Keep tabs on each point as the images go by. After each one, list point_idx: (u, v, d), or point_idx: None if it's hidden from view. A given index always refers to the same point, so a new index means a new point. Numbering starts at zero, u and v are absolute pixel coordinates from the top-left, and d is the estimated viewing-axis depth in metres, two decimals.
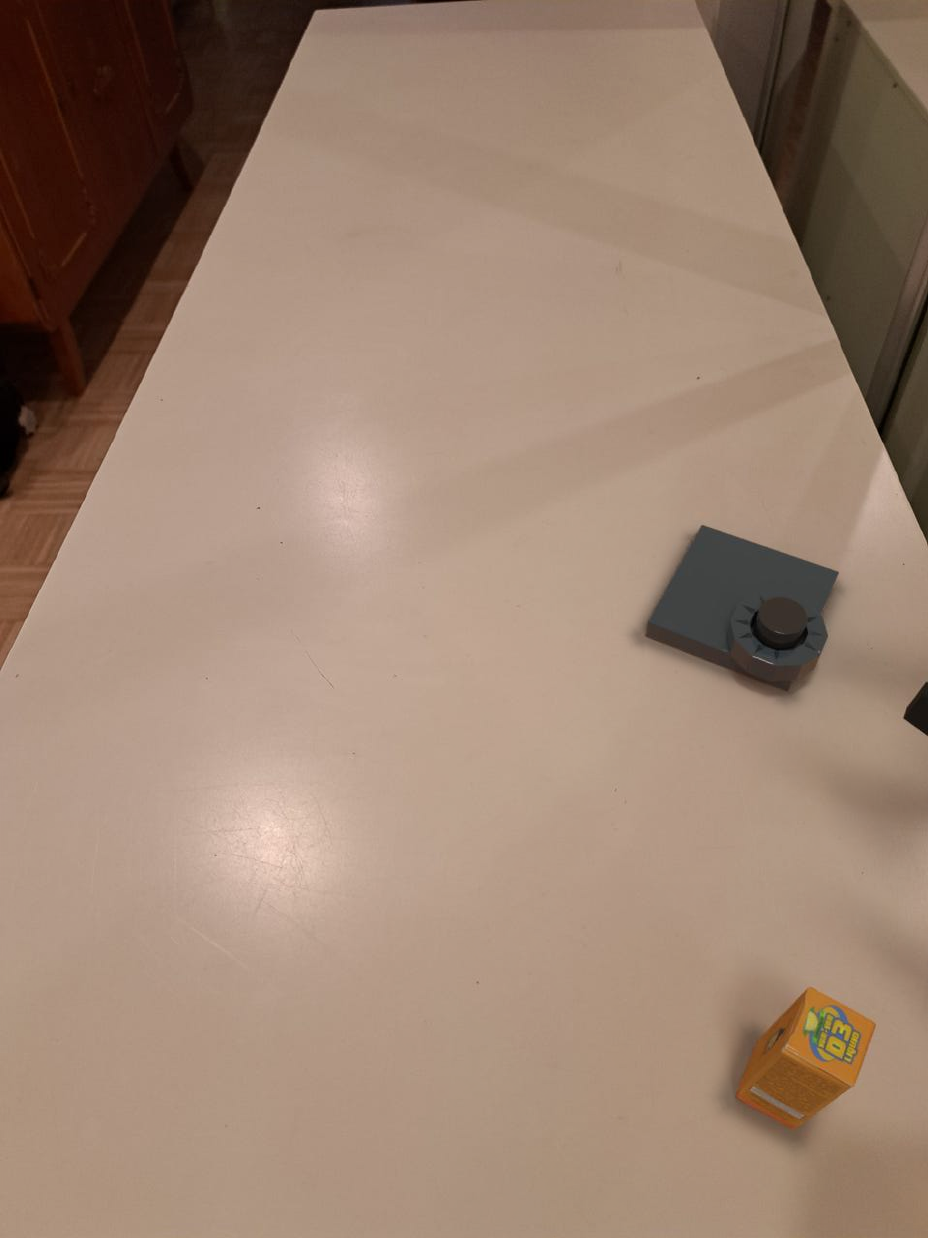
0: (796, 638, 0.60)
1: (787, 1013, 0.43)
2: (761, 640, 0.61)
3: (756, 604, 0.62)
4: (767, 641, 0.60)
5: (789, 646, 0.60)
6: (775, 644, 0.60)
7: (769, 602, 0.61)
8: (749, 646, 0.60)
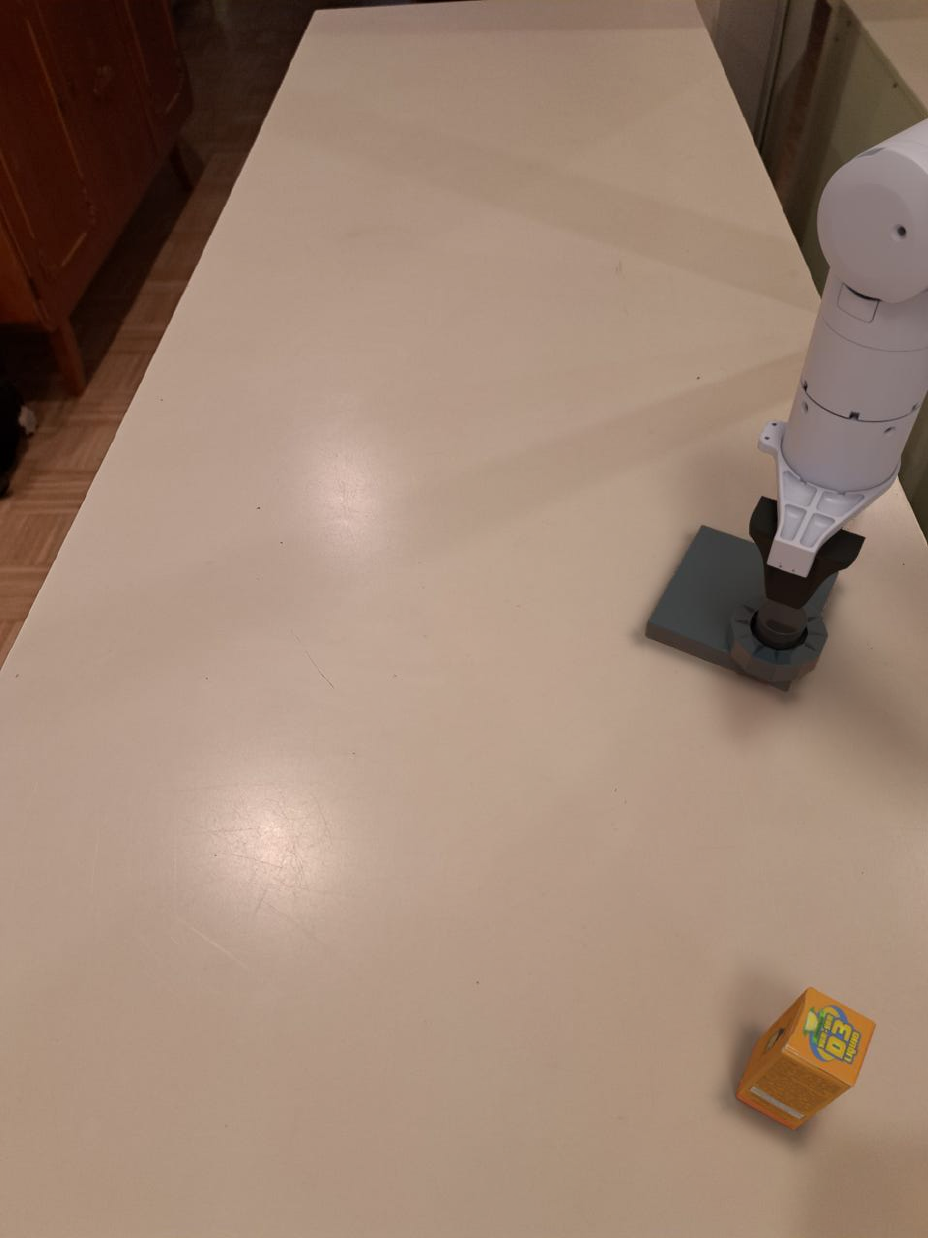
0: (796, 638, 0.60)
1: (787, 1013, 0.43)
2: (761, 640, 0.61)
3: (756, 604, 0.62)
4: (767, 641, 0.60)
5: (789, 646, 0.60)
6: (775, 644, 0.60)
7: (769, 602, 0.61)
8: (749, 646, 0.60)
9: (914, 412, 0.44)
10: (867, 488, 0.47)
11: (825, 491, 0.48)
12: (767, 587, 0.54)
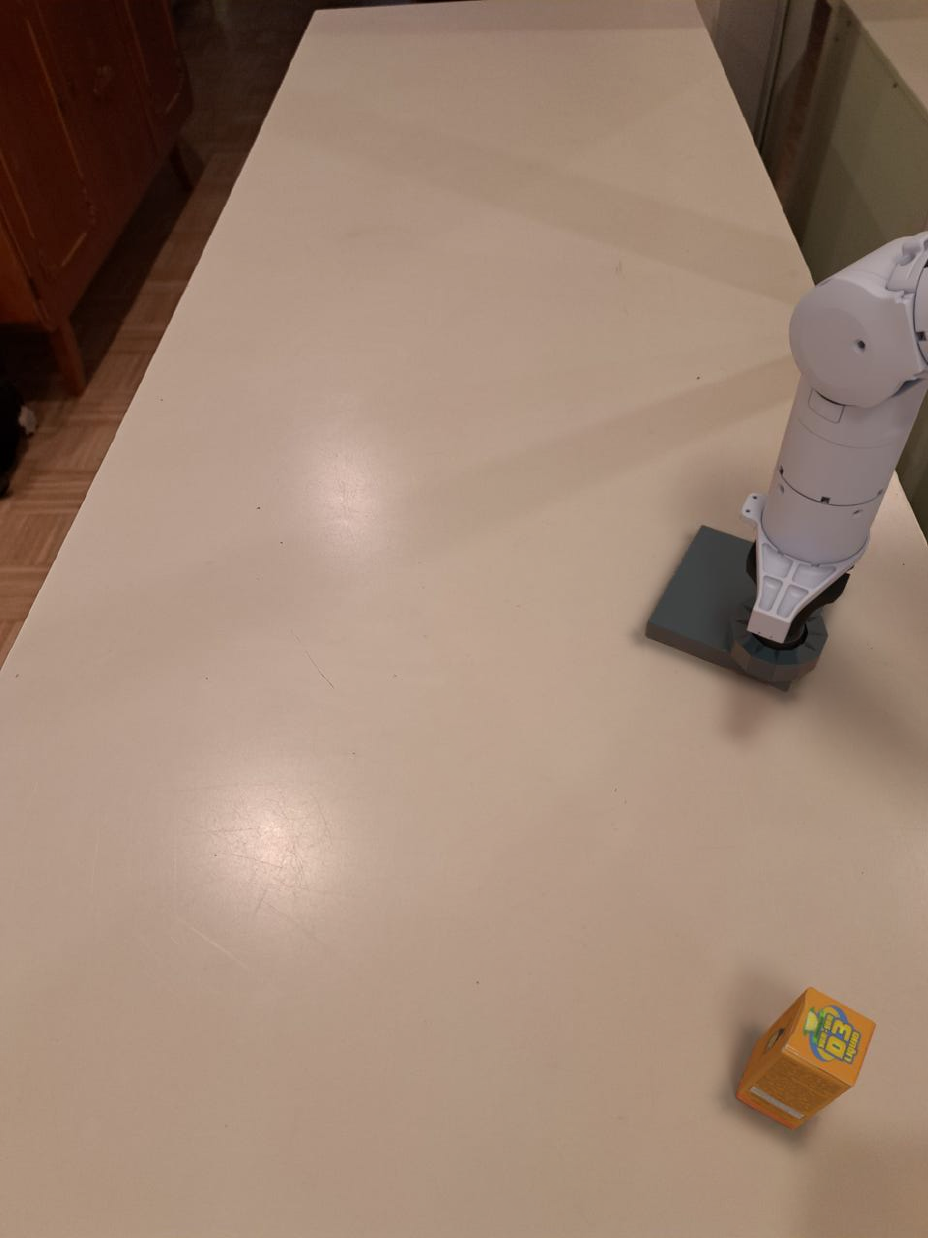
0: (793, 646, 0.61)
1: (787, 1013, 0.43)
2: None
3: None
4: None
5: None
6: None
7: None
8: (749, 646, 0.60)
9: (880, 496, 0.49)
10: (839, 561, 0.52)
11: (800, 563, 0.52)
12: None
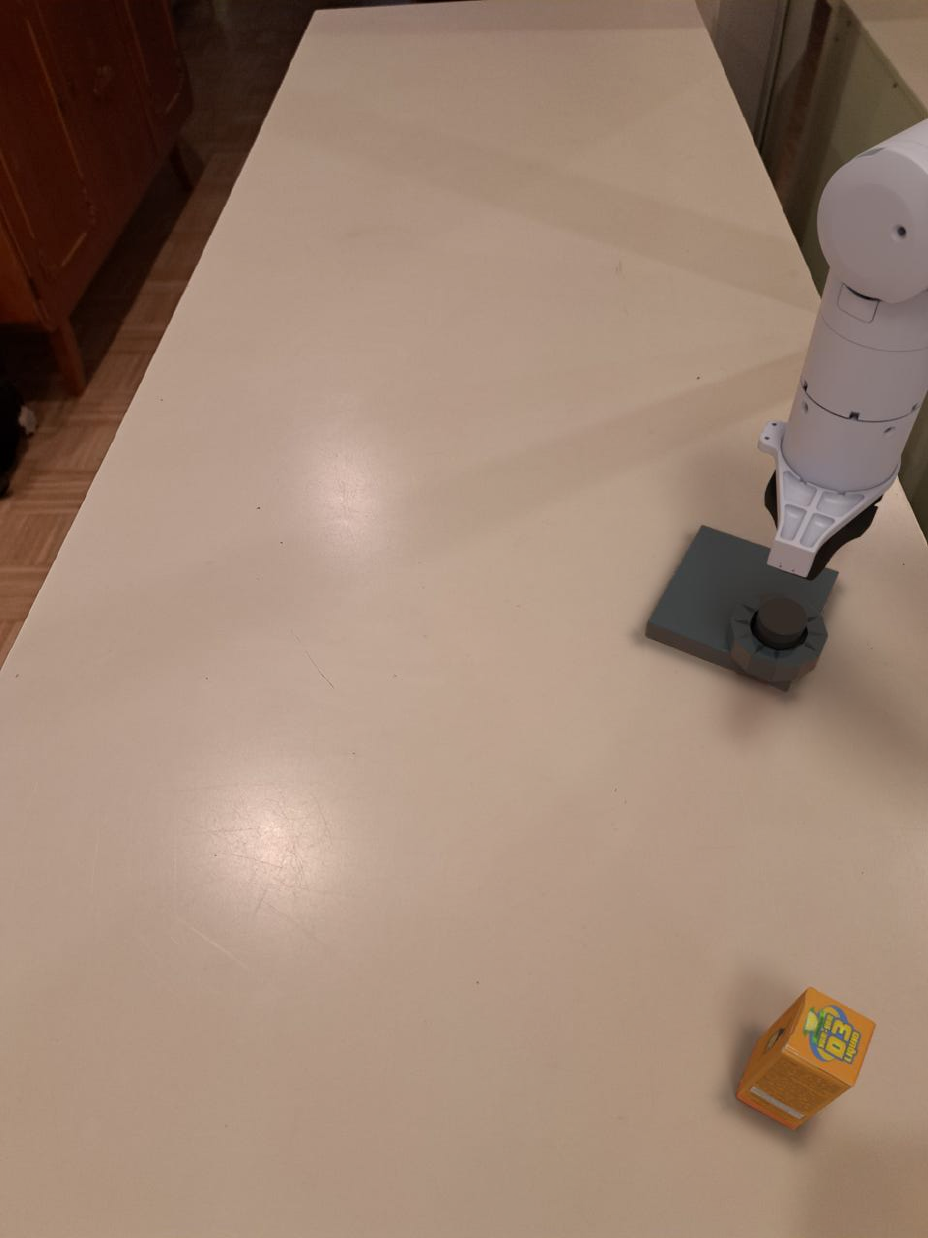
0: (796, 638, 0.60)
1: (787, 1013, 0.43)
2: (761, 640, 0.61)
3: (756, 604, 0.62)
4: (767, 641, 0.60)
5: (789, 646, 0.60)
6: (775, 644, 0.60)
7: (769, 602, 0.61)
8: (749, 646, 0.60)
9: (914, 412, 0.44)
10: (867, 488, 0.47)
11: (825, 491, 0.48)
12: None
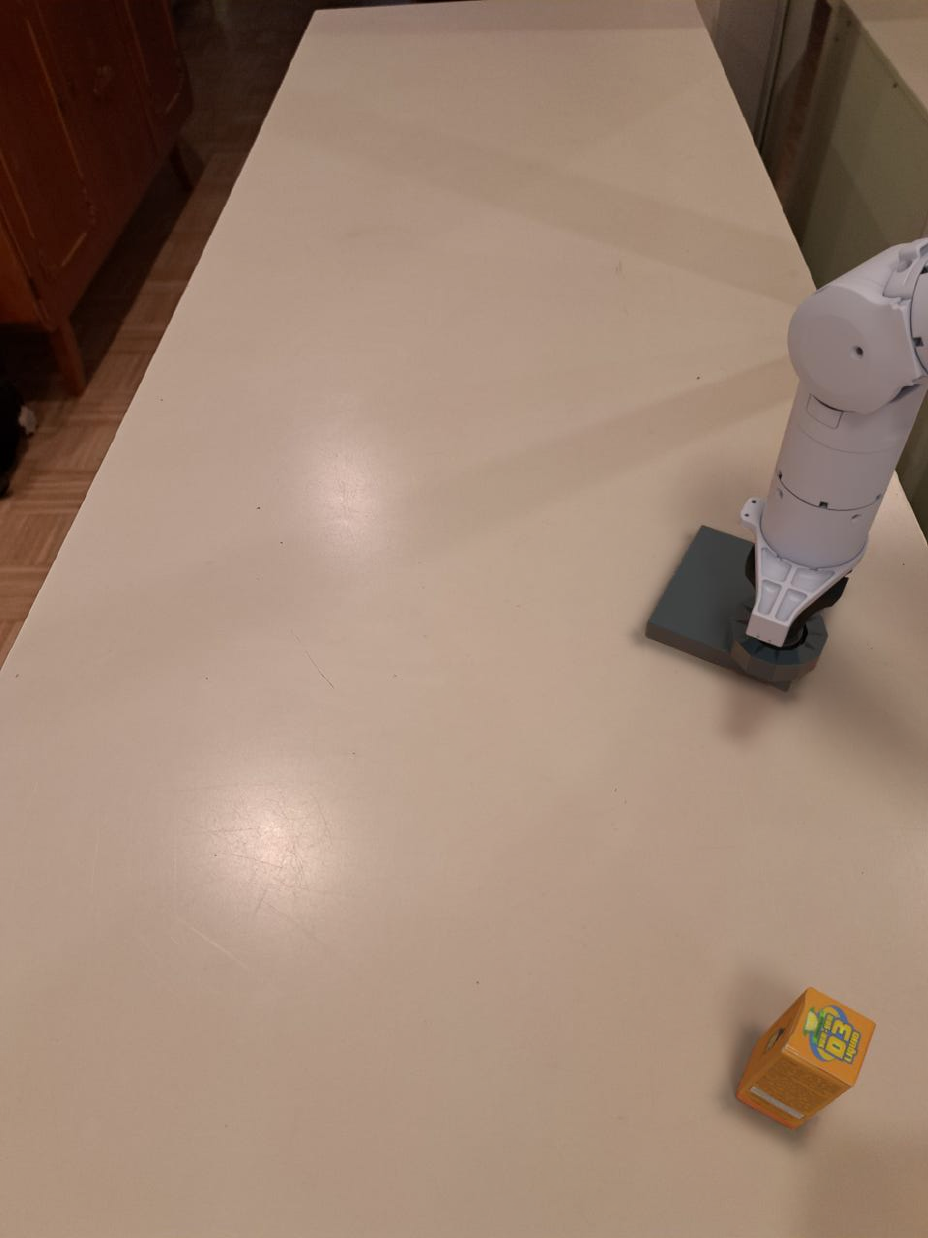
0: (792, 649, 0.61)
1: (787, 1013, 0.43)
2: None
3: None
4: None
5: None
6: None
7: None
8: (749, 646, 0.60)
9: (878, 501, 0.49)
10: (837, 565, 0.52)
11: (799, 567, 0.52)
12: None
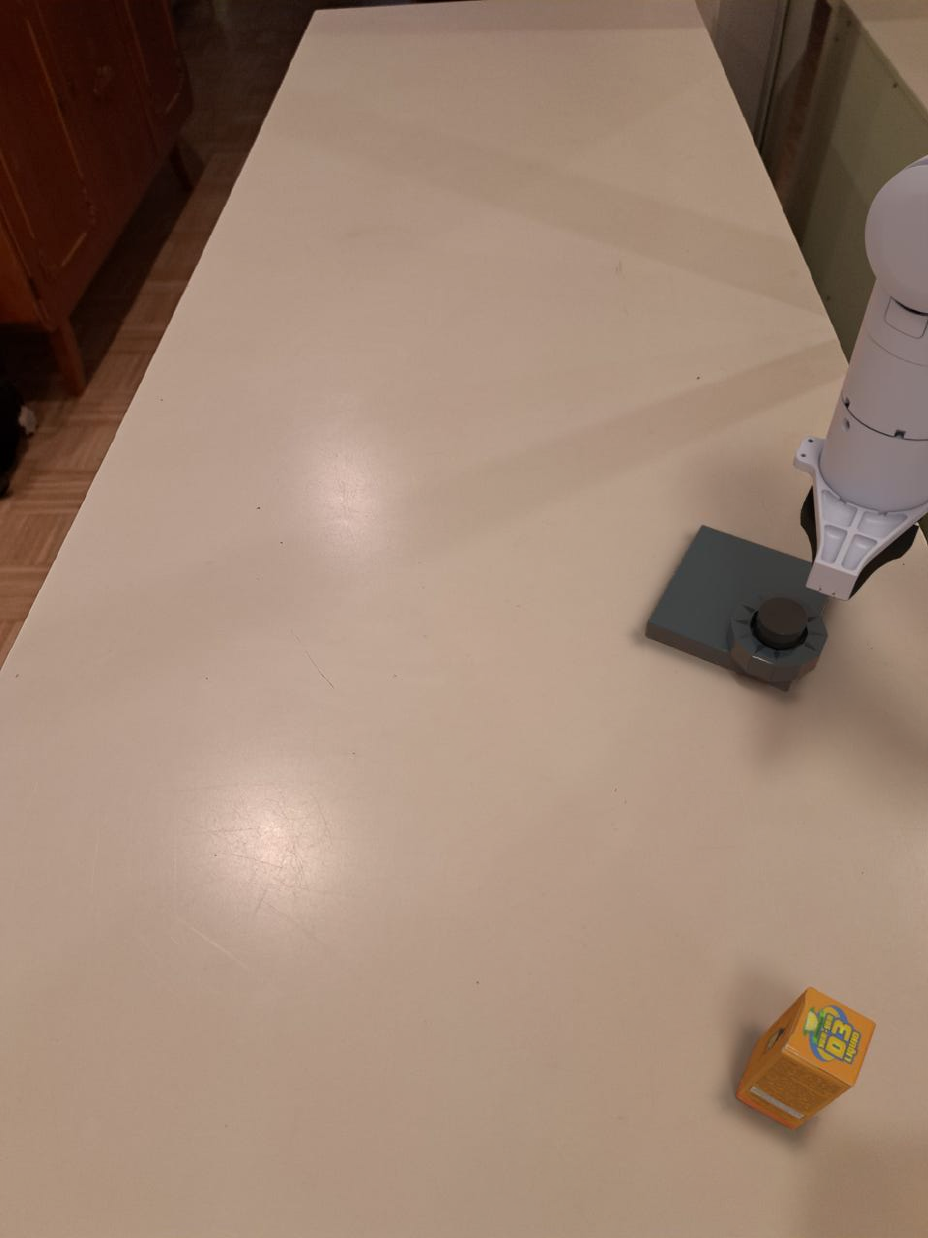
0: (796, 638, 0.60)
1: (787, 1013, 0.43)
2: (761, 640, 0.61)
3: (756, 604, 0.62)
4: (767, 641, 0.60)
5: (789, 646, 0.60)
6: (775, 644, 0.60)
7: (769, 602, 0.61)
8: (749, 646, 0.60)
9: None
10: (909, 508, 0.46)
11: (866, 511, 0.46)
12: None
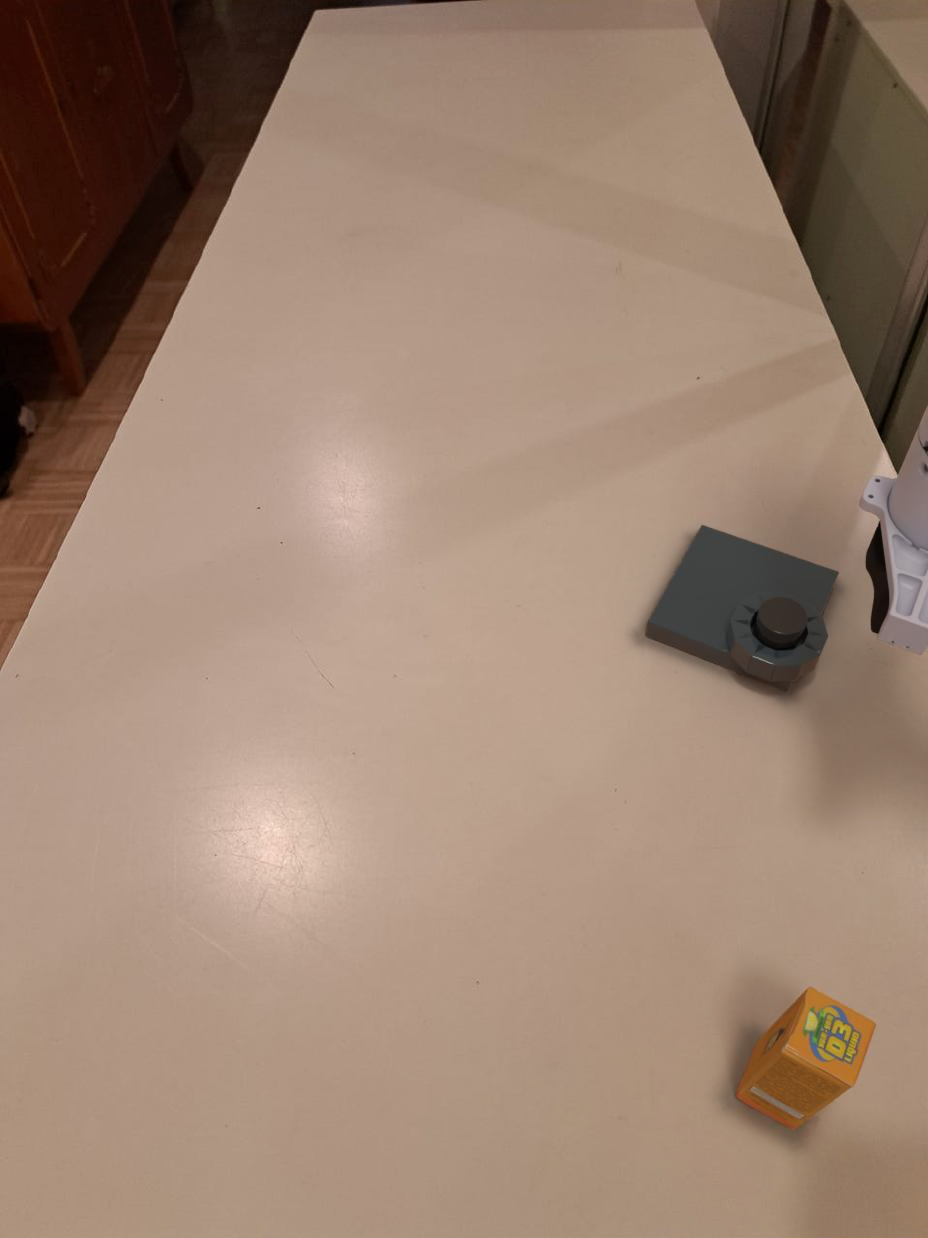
0: (796, 638, 0.60)
1: (787, 1013, 0.43)
2: (761, 640, 0.61)
3: (756, 604, 0.62)
4: (767, 641, 0.60)
5: (789, 646, 0.60)
6: (775, 644, 0.60)
7: (769, 602, 0.61)
8: (749, 646, 0.60)
9: None
10: None
11: None
12: (874, 620, 0.51)
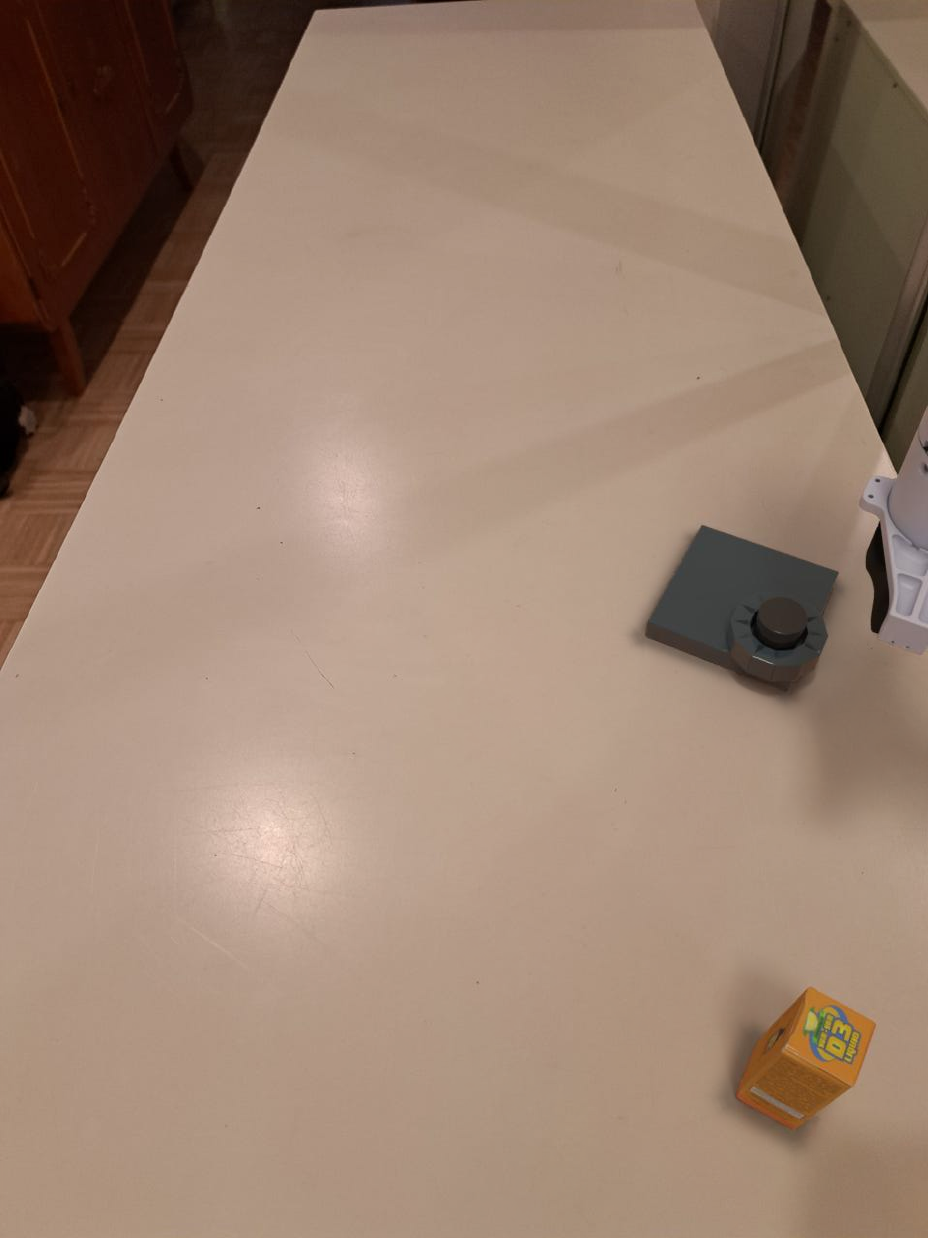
0: (796, 638, 0.60)
1: (787, 1013, 0.43)
2: (761, 640, 0.61)
3: (756, 604, 0.62)
4: (767, 641, 0.60)
5: (789, 646, 0.60)
6: (775, 644, 0.60)
7: (769, 602, 0.61)
8: (749, 646, 0.60)
9: None
10: None
11: None
12: (874, 620, 0.51)
